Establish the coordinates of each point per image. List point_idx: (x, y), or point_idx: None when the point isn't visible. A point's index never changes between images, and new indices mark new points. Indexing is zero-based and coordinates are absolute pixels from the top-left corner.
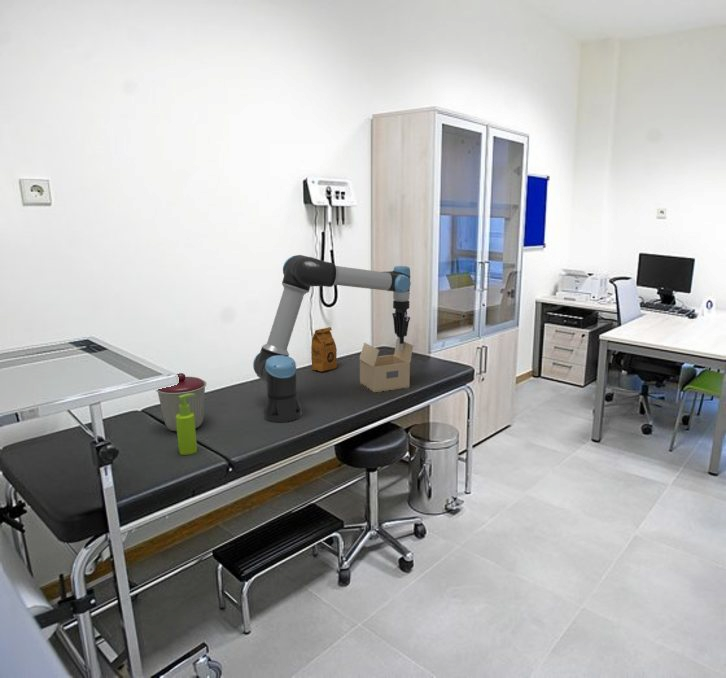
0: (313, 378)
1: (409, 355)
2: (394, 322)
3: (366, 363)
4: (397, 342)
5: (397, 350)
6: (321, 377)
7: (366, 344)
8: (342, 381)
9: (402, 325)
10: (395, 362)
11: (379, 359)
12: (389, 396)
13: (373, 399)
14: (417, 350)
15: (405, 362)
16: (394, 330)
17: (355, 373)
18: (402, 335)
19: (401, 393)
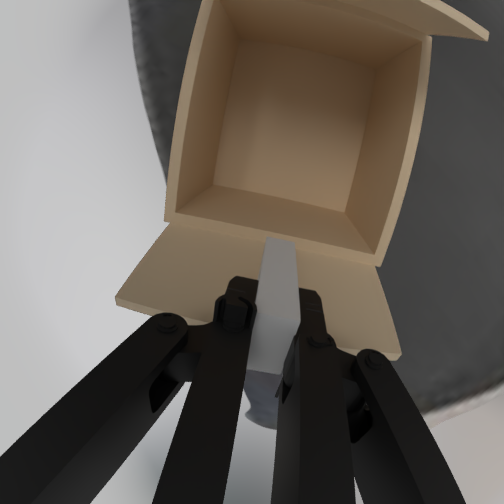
0: (492, 21)
1: (164, 247)
2: (435, 495)
3: (330, 1)
4: (289, 274)
5: (348, 283)
6: (492, 41)
7: (442, 3)
8: (432, 42)
9: (69, 453)
10: (333, 232)
11: (396, 155)
12: (168, 63)
13: (179, 6)
14: (443, 418)
15: (202, 215)
16: (401, 383)
17: (479, 150)
18: (149, 322)
19: (168, 119)
